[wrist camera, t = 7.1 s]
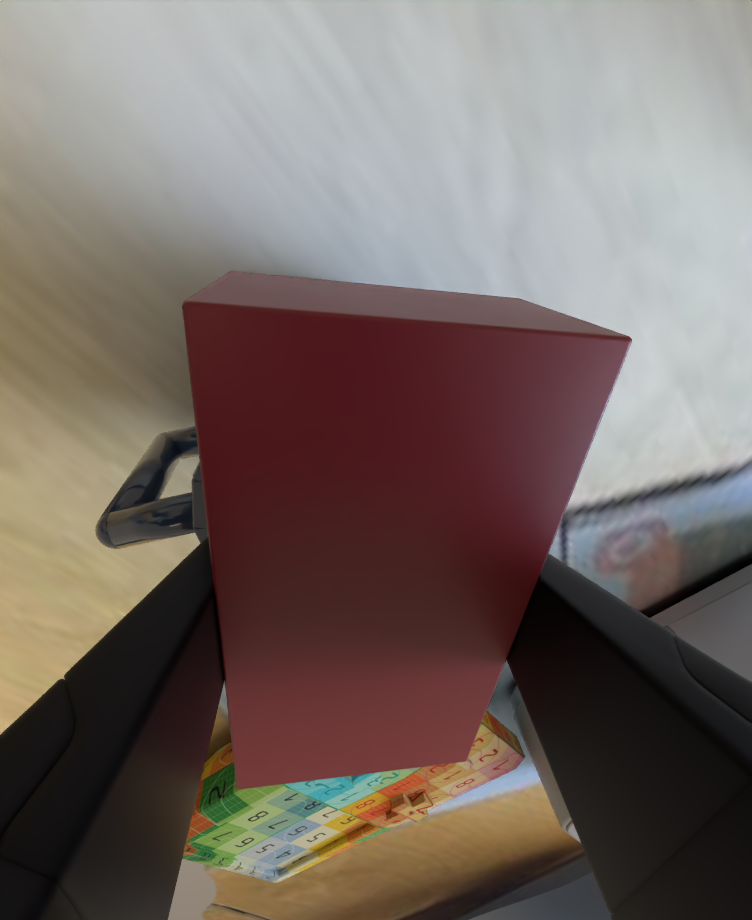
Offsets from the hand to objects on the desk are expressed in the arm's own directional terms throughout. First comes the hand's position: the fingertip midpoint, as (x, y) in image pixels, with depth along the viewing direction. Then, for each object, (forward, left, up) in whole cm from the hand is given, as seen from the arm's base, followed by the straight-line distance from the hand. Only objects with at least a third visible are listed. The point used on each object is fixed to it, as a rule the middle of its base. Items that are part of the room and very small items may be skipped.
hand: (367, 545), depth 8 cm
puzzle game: (+20, +13, -9) cm, 26 cm away
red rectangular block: (0, 0, -1) cm, 1 cm away
